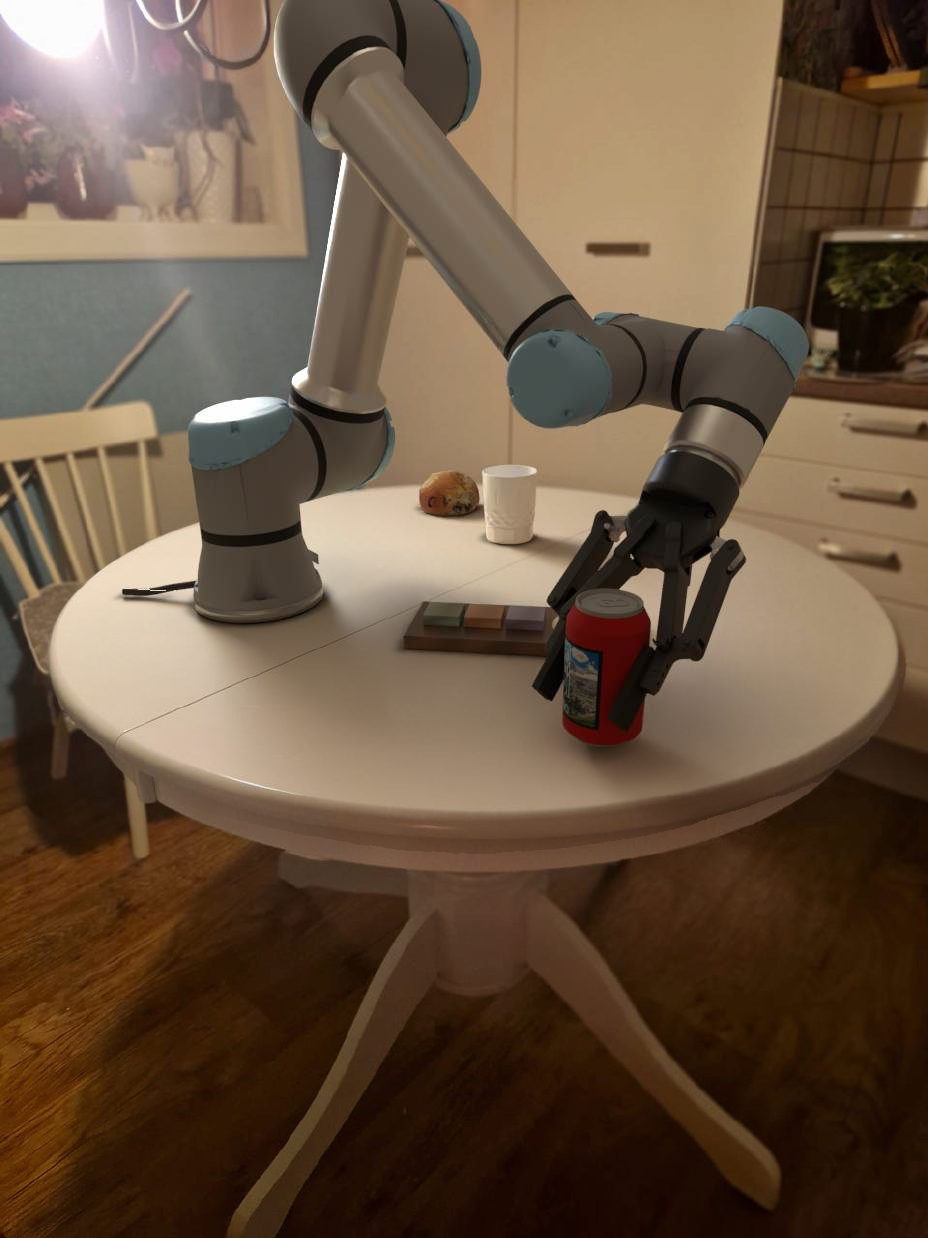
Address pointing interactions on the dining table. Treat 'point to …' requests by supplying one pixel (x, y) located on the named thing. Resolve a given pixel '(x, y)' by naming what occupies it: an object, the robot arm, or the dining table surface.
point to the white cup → (509, 503)
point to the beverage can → (601, 662)
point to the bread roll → (449, 494)
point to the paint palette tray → (481, 628)
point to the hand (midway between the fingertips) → (578, 708)
